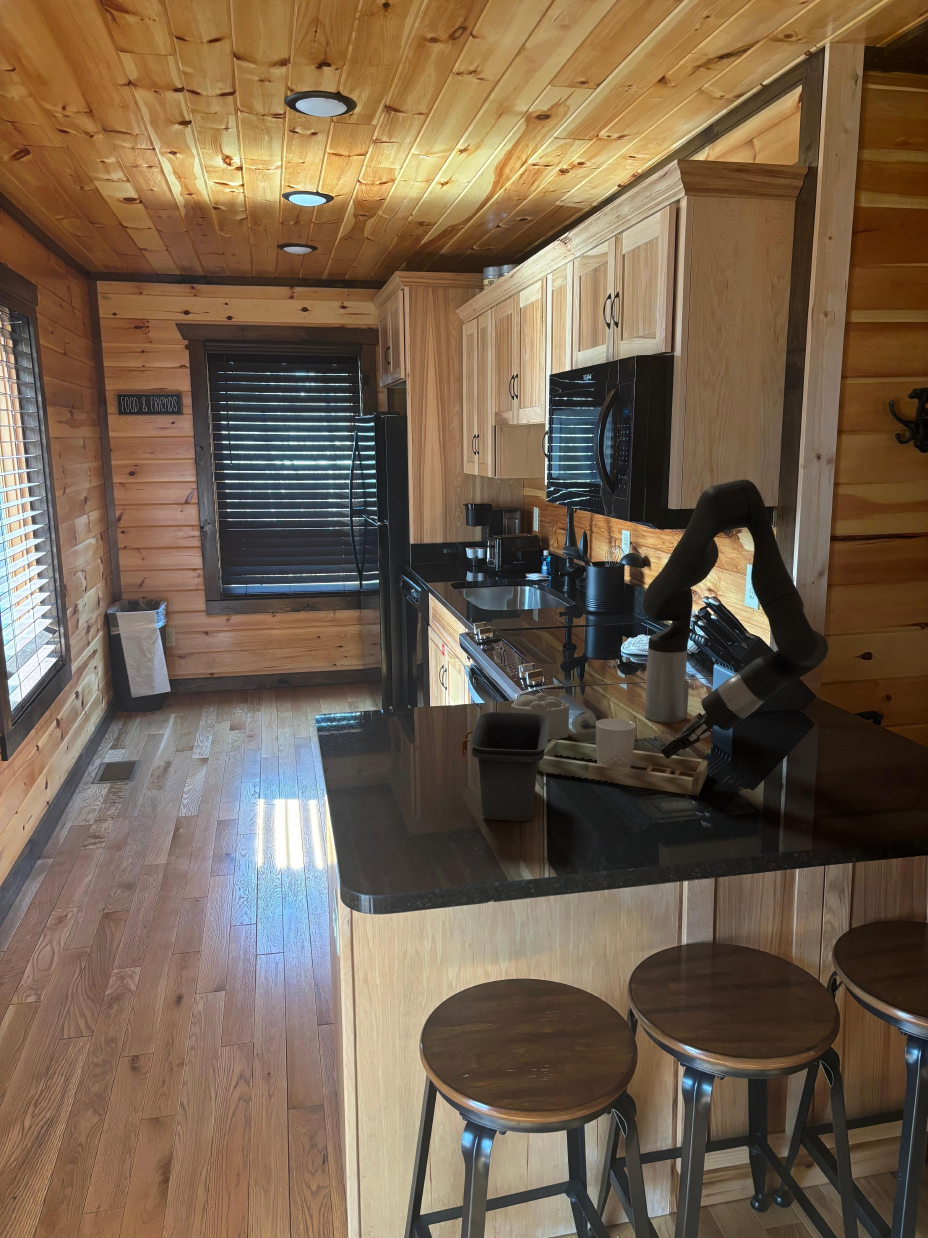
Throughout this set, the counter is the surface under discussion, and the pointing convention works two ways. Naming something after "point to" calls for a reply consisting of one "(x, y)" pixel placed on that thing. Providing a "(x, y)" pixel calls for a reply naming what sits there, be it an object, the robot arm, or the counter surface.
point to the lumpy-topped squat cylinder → (546, 712)
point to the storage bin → (508, 761)
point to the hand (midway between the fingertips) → (664, 754)
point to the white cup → (615, 742)
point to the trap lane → (655, 777)
